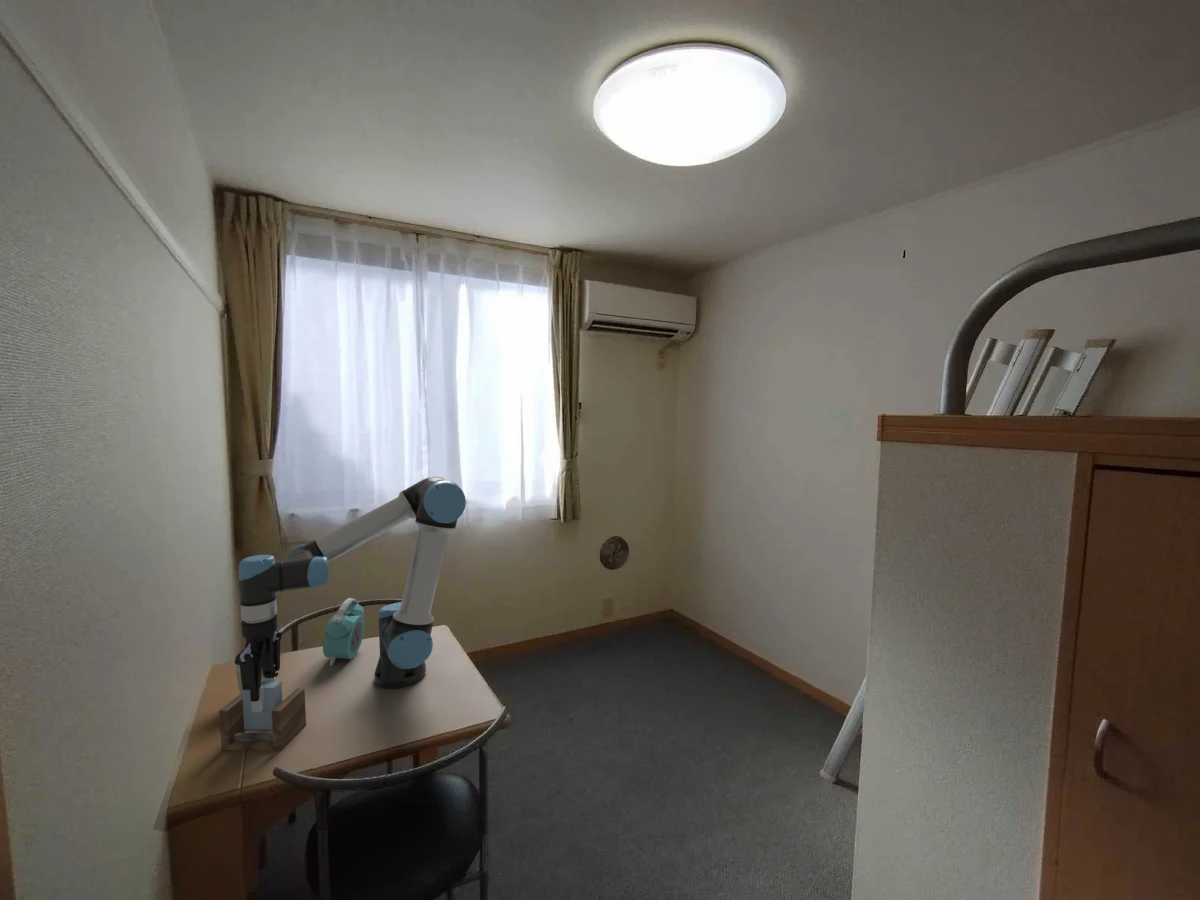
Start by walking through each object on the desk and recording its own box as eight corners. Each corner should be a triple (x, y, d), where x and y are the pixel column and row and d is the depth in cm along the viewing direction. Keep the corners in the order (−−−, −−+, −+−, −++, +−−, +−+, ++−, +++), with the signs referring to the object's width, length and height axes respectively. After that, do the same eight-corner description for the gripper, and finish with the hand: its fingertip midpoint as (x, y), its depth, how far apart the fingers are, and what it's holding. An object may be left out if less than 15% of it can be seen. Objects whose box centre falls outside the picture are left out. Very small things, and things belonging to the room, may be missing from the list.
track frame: (306, 725, 132) (304, 688, 131) (281, 750, 122) (279, 710, 121) (250, 724, 132) (248, 687, 131) (221, 750, 122) (219, 710, 121)
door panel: (283, 722, 128) (281, 681, 127) (275, 729, 125) (273, 687, 125) (252, 722, 128) (250, 681, 128) (244, 729, 125) (242, 687, 125)
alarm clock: (341, 645, 177) (339, 591, 176) (369, 644, 178) (367, 590, 177) (318, 670, 160) (315, 610, 159) (349, 669, 161) (346, 609, 159)
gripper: (266, 605, 133) (270, 689, 135) (219, 631, 117) (224, 726, 118) (294, 605, 133) (297, 689, 134) (251, 631, 117) (255, 726, 118)
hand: (263, 706), depth 126 cm, fingers closed on door panel, 3 cm apart
